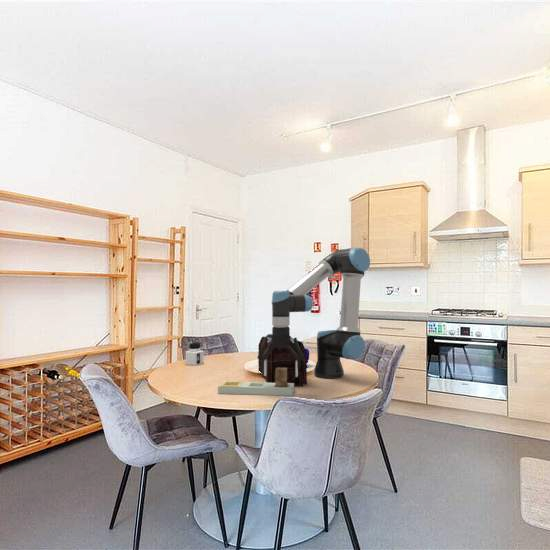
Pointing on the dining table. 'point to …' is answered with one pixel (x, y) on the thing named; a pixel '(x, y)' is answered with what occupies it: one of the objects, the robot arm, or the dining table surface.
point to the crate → (283, 363)
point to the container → (194, 354)
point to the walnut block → (281, 377)
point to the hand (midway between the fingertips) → (281, 375)
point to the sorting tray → (254, 388)
